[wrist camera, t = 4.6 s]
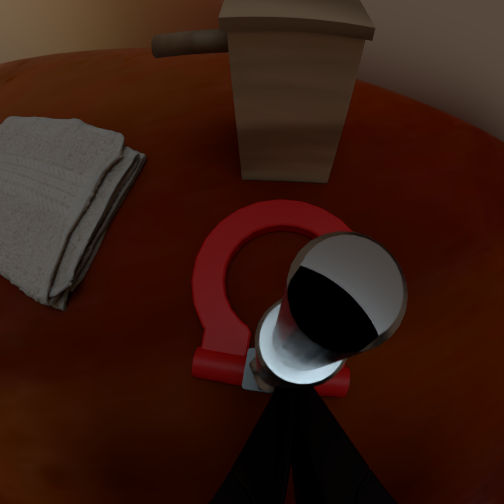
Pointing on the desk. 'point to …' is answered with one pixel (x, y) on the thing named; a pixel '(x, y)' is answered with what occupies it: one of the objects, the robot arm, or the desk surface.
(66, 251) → the washcloth
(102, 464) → the desk surface
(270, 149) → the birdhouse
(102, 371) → the desk surface
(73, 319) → the desk surface
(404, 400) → the desk surface
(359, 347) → the tow hook
